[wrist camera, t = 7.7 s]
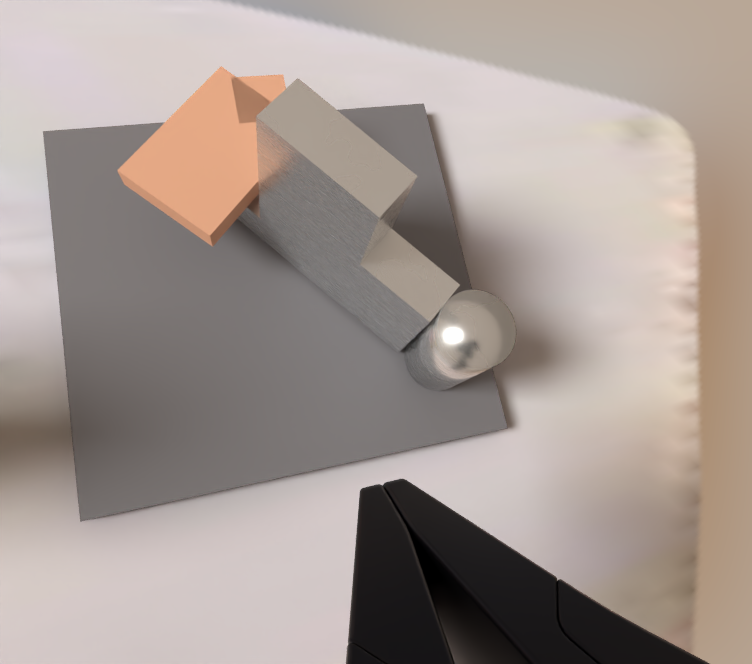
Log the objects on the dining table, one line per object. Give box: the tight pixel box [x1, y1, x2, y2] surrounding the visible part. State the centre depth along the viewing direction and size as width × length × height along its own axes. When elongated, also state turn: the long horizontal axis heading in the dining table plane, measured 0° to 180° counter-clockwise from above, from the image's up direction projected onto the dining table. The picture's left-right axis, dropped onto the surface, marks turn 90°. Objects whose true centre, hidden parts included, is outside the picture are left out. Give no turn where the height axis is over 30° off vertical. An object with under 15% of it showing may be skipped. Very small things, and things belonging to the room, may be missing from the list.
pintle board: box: [43, 67, 507, 521], centre depth 22 cm, size 16×17×5 cm
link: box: [237, 79, 516, 391], centre depth 20 cm, size 3×15×8 cm, turn 52°
